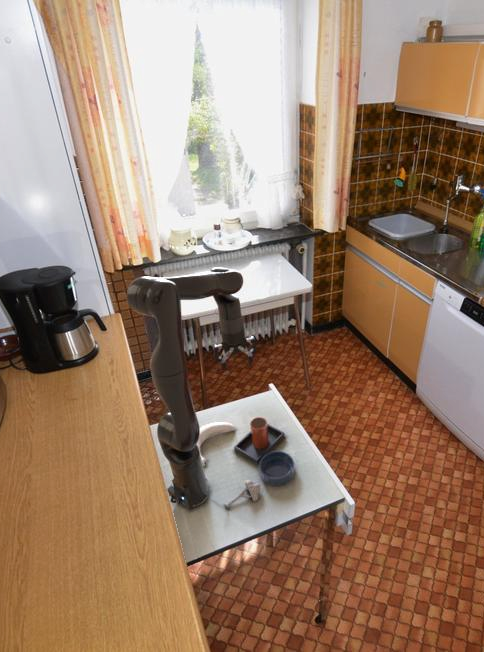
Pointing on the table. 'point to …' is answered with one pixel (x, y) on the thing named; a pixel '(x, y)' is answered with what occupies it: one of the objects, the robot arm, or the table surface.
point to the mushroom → (253, 489)
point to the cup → (259, 432)
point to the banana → (211, 430)
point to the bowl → (276, 468)
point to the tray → (255, 454)
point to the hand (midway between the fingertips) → (237, 366)
